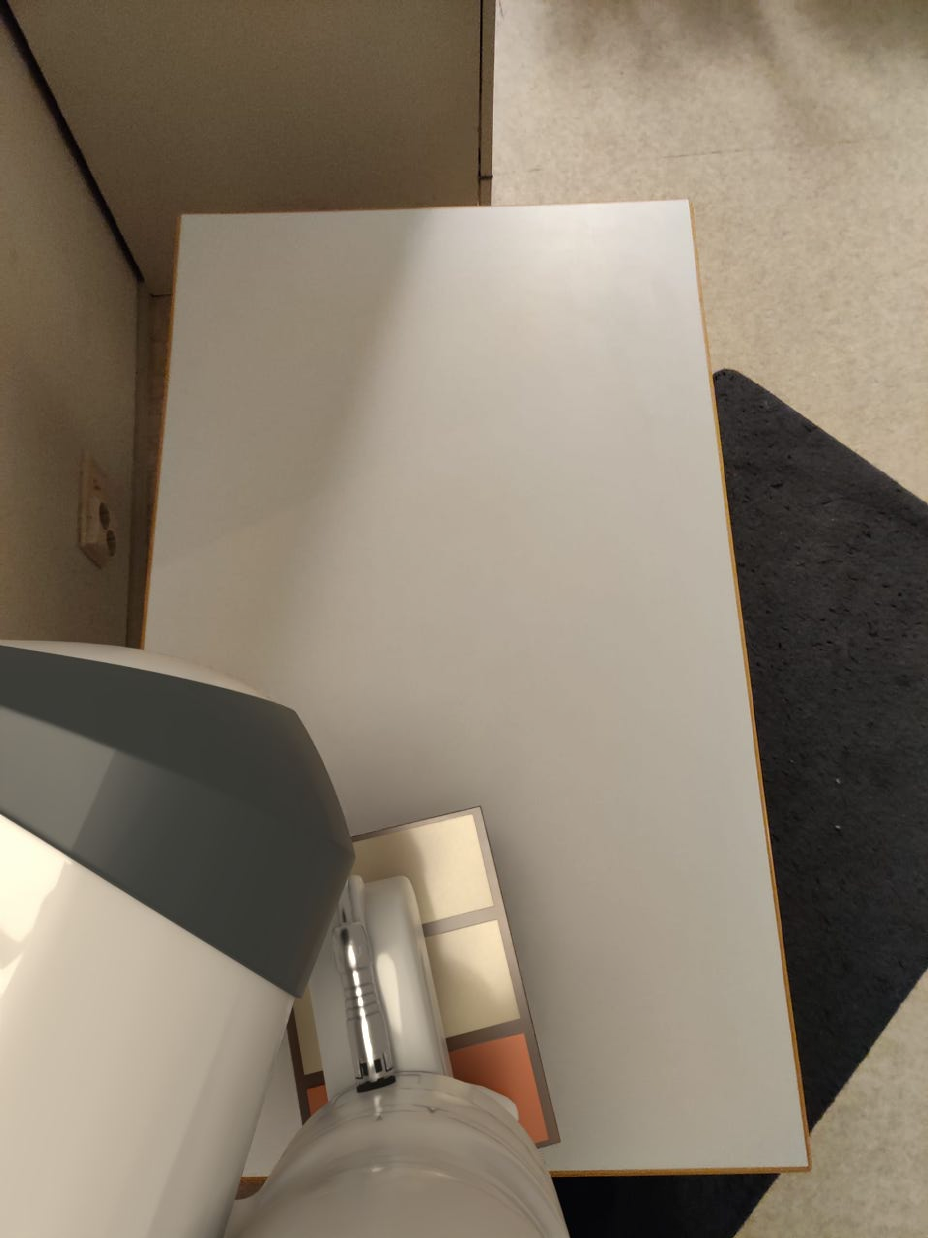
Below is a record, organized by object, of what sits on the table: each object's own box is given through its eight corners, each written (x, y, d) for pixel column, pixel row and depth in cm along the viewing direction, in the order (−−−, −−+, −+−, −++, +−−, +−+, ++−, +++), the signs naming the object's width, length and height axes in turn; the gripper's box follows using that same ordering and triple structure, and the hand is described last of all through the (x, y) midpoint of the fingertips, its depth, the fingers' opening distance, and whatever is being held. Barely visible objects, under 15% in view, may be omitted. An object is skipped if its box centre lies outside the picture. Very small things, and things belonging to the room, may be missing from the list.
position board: (319, 1200, 38) (314, 1212, 36) (264, 859, 42) (258, 858, 41) (558, 1135, 39) (561, 1144, 37) (480, 807, 43) (481, 805, 41)
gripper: (232, 899, 26) (308, 891, 39) (365, 1796, 20) (402, 1428, 33) (436, 849, 26) (443, 858, 39) (624, 1711, 20) (558, 1382, 34)
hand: (425, 1123), depth 36 cm, fingers open, 5 cm apart
